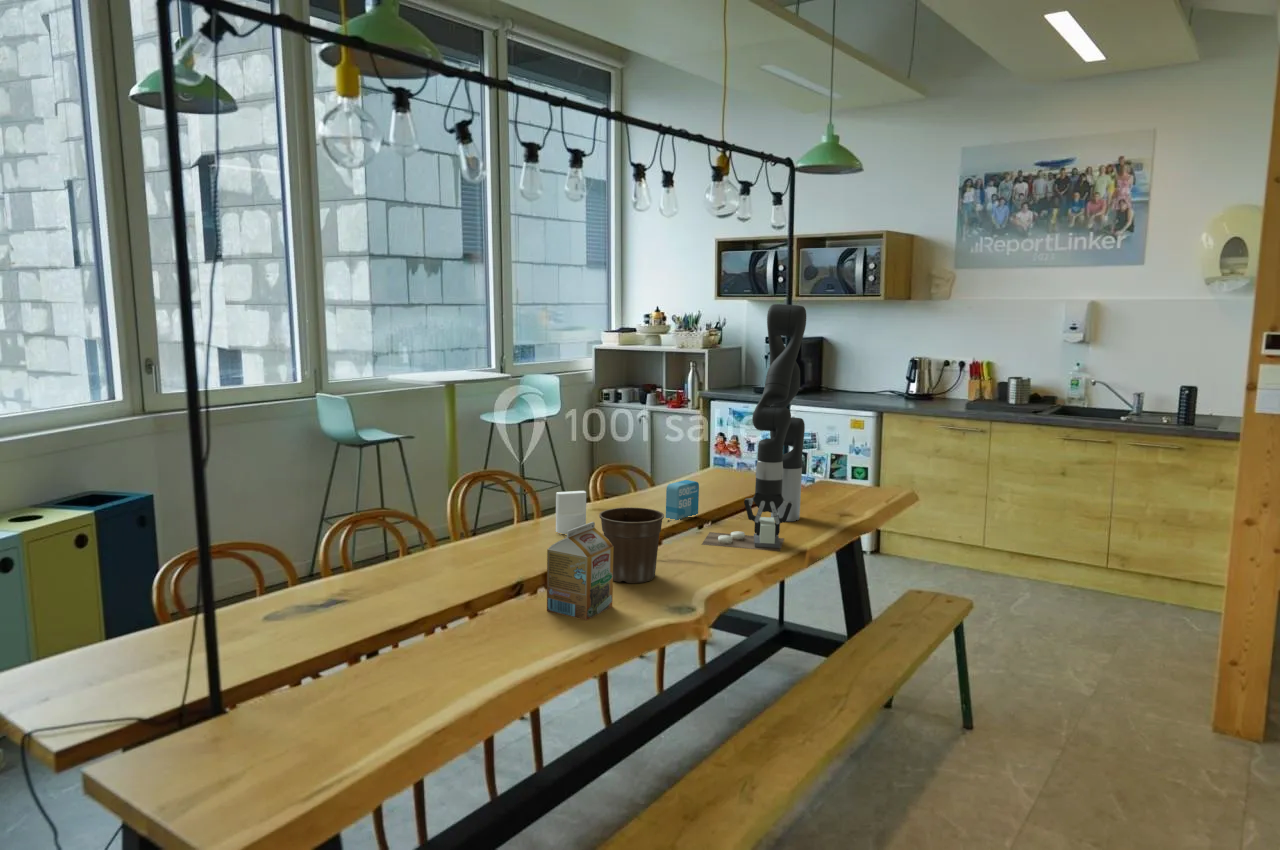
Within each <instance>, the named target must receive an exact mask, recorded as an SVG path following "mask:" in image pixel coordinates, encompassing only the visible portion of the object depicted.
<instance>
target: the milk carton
mask: <svg viewBox="0 0 1280 850" xmlns="http://www.w3.org/2000/svg"><path fill="white" fill-rule="evenodd" d="M613 547H614V546H613V545H612V544H611V542H610V541H609V540H608V539H607V538H606V537H605V536H604V533H601V531H599V530H598V528H597V527H596V526H595V522H594V521H591V522H588V523H586V524H585V525H582V526H580V527H577V528H574V529H571V530H569V531H567V535H566V537H565V538H562V539H561V540H558V541H556V542H555V543H553V544H552V545H550V546H549V547H548V548H546V549H547V551H546V552H547V553H546V556H547V557H546V558H547V559H546V560H547V561H546V563H547V564H546V568H547V569H546V611H547V612H549V613H554V614H559V615H561V616H562V615H563V616H565V617H566V616H567V617H570V618H575V619H578V620H583V621H588V620H590V619H591V618H594V617H595V616H598V615H599V614H601V613H603V612H605V611H606V610H609V609H611V608H612V607H613V595H614V594H613V593H614V592H613V588H614V581H613Z"/></svg>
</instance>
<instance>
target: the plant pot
mask: <svg viewBox="0 0 1280 850" xmlns="http://www.w3.org/2000/svg"><path fill="white" fill-rule="evenodd" d="M598 516H599V518H600V520H601V521H600V522H601V530H602V532H603V535H604V536H605V537H606V538H607V539H608V540H609V541H610V542H611V544H612V545H613V546H614V547H613V582H617V583H621V582H626V583H627V584H642V583H646V582H649V581H652V580H653V579H654V578H655V577H656V570H657V569H656V568H657V560H658V559H657V558H658V550H659V541H660V533H661V531H662V523H663V520H664V518H665V514H664V513H663V512H661V511H660V510H658V509H657V510H656V509H654V508H653V509H652V508H645V507H615V508H611V509H605V510H603V511H601V512H599V515H598Z"/></svg>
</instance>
